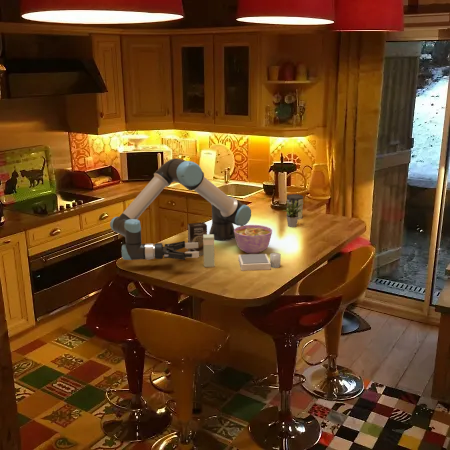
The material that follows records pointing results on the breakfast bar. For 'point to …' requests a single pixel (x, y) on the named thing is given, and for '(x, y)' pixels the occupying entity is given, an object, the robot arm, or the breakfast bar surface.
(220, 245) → the breakfast bar surface
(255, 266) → the podium
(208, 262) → the slim carton
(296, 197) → the coffee can
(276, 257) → the white rounded capsule
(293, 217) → the house plant
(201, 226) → the coffee box
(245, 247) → the bowl of food
